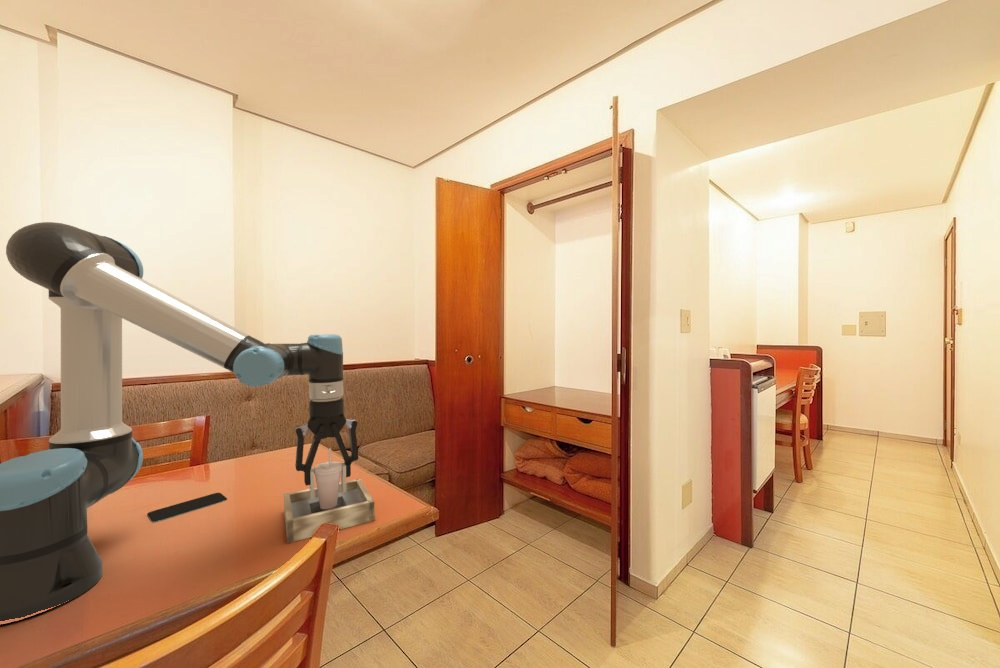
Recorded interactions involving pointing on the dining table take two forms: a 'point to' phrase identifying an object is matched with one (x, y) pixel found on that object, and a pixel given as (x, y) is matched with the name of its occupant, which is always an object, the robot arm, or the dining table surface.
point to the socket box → (352, 513)
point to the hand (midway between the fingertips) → (328, 493)
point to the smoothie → (328, 482)
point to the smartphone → (185, 507)
